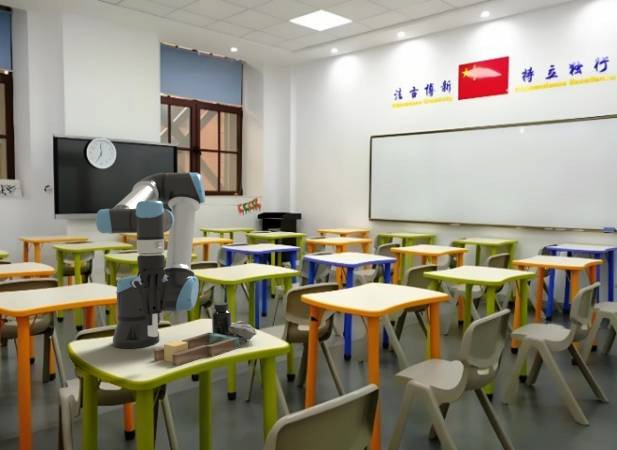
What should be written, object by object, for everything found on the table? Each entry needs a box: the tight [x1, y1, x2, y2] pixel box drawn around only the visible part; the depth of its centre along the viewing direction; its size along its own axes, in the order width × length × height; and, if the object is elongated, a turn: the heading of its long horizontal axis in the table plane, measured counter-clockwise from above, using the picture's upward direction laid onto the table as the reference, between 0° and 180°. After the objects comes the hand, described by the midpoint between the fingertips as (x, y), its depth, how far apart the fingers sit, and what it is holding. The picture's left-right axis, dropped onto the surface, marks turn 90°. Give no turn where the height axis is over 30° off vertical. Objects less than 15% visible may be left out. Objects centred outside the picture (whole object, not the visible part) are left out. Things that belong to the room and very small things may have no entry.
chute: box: [153, 332, 240, 367], centre depth 159 cm, size 14×24×3 cm, turn 144°
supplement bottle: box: [211, 302, 233, 336], centre depth 178 cm, size 7×7×12 cm
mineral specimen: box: [228, 320, 257, 344], centre depth 171 cm, size 10×8×10 cm
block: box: [163, 340, 188, 363], centre depth 153 cm, size 5×5×5 cm
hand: (152, 335), depth 145 cm, fingers closed
